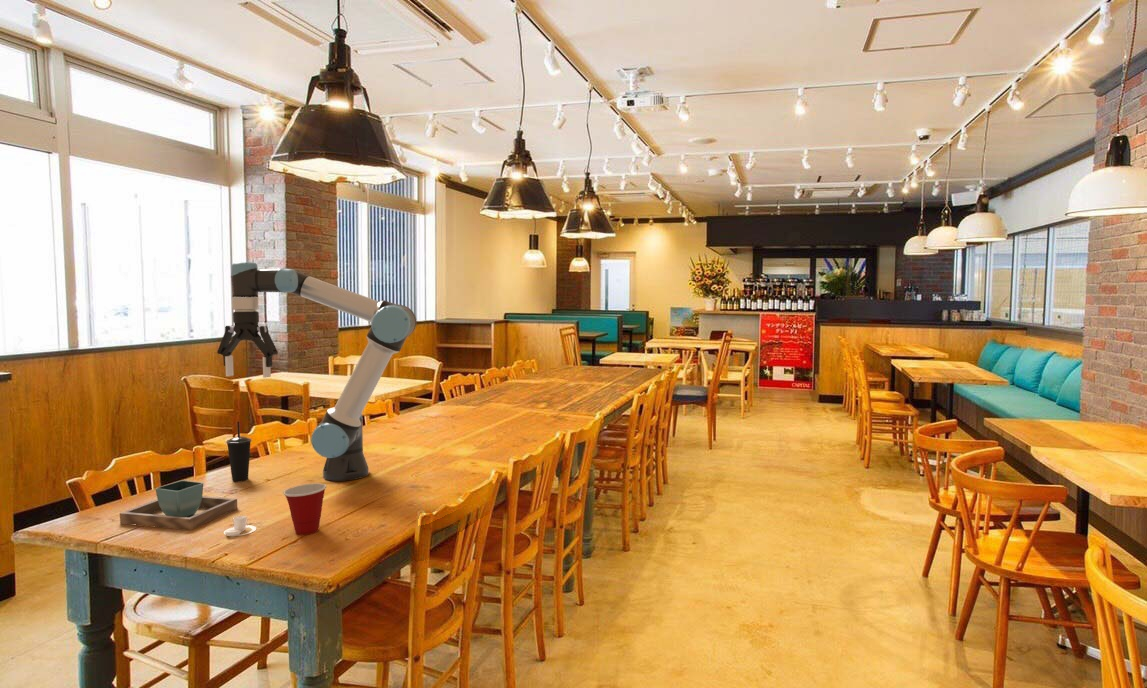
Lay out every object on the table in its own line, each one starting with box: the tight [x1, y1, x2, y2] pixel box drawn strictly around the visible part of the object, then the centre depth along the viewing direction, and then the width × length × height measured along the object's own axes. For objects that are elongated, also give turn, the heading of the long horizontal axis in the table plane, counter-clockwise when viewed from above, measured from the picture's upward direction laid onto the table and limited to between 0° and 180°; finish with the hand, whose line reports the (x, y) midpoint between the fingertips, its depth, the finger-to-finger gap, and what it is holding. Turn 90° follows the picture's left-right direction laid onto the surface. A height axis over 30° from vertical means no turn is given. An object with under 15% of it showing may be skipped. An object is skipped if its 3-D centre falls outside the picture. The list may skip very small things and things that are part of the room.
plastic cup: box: [283, 482, 327, 536], centre depth 181 cm, size 11×11×12 cm
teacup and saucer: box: [223, 515, 257, 537], centre depth 181 cm, size 9×8×4 cm
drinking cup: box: [226, 421, 252, 483], centre depth 229 cm, size 8×8×20 cm
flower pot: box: [155, 480, 205, 517], centre depth 193 cm, size 9×9×9 cm
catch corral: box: [119, 495, 238, 531], centre depth 193 cm, size 22×18×3 cm
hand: (248, 376), depth 218 cm, fingers open, 13 cm apart
